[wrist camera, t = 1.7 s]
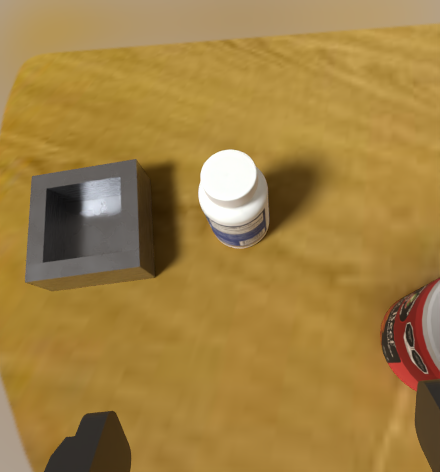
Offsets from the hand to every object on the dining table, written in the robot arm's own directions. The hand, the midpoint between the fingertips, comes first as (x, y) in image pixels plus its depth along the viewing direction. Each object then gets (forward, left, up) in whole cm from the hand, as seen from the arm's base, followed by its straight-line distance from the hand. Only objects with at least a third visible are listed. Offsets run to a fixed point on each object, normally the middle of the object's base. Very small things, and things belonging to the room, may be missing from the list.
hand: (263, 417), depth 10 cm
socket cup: (-6, -20, -23) cm, 31 cm away
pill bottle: (-12, -8, -23) cm, 27 cm away
